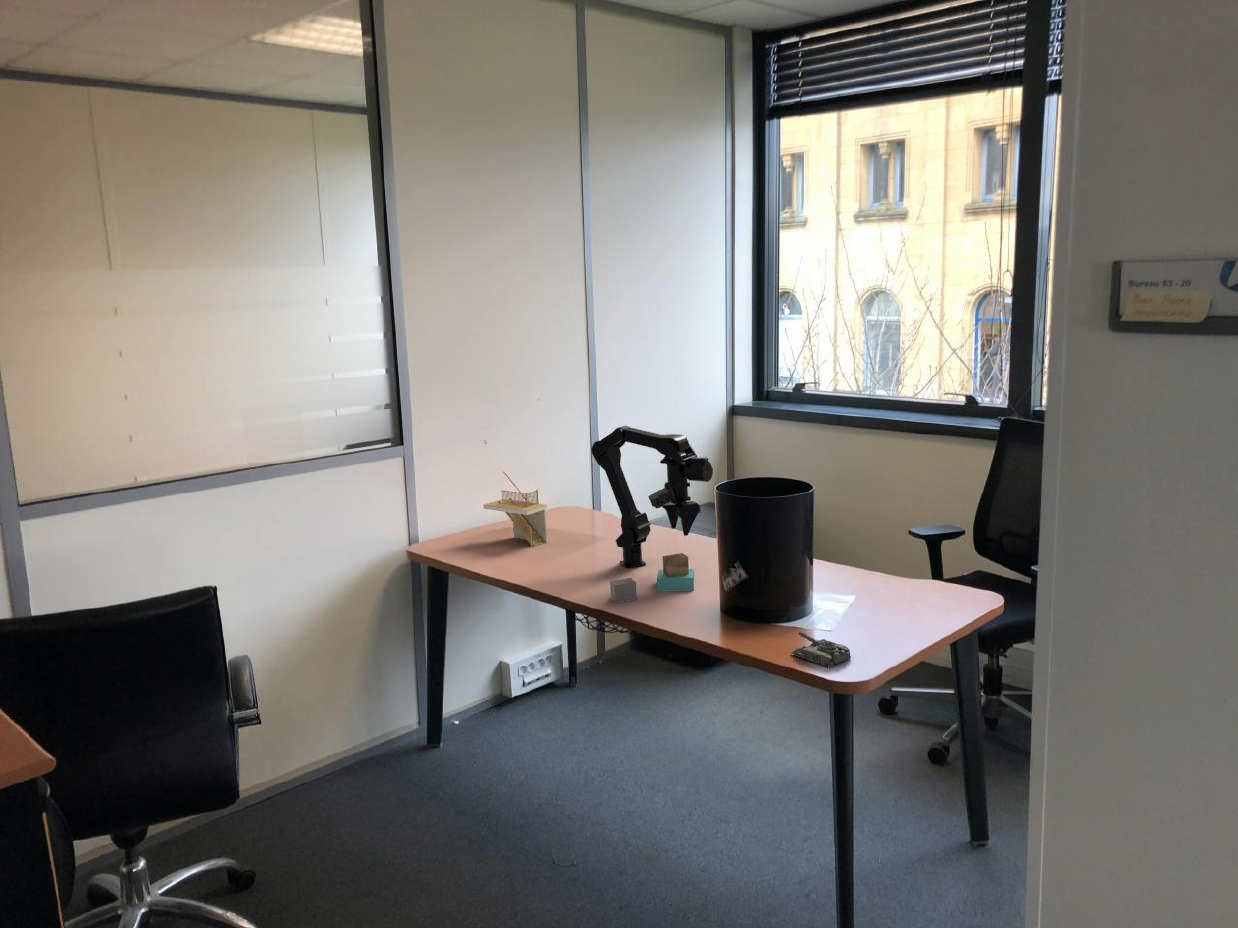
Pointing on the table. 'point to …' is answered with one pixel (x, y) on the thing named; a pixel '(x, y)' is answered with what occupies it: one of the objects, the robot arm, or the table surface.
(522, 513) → the architectural model
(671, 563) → the walnut brick
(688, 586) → the teal brick
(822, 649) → the tank toy
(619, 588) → the charcoal brick
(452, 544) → the table surface
